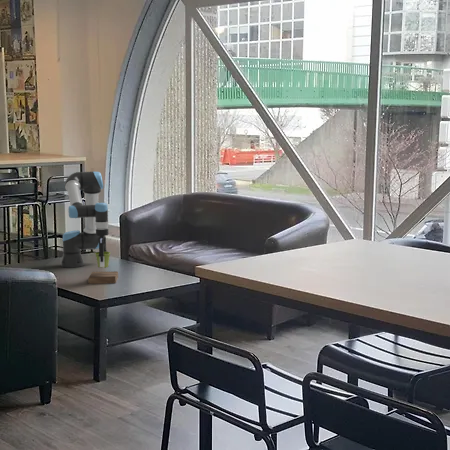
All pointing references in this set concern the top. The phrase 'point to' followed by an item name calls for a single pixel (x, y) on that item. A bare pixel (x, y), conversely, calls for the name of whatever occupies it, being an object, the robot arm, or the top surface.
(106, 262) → the plant pot
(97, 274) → the walnut plinth
